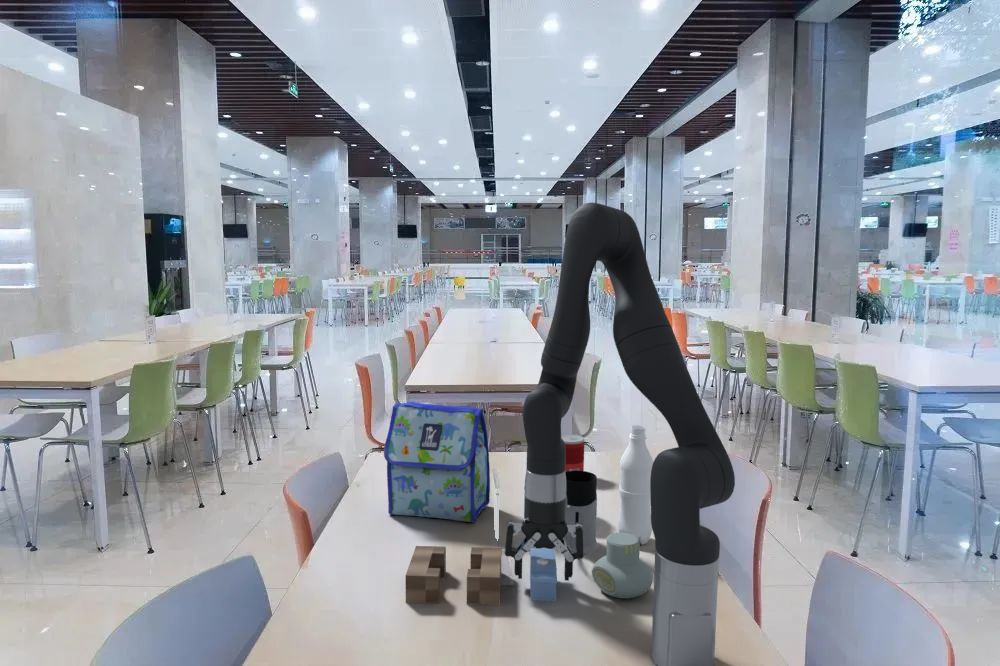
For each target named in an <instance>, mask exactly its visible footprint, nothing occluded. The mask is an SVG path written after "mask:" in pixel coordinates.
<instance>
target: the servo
mask: <svg viewBox="0 0 1000 666" xmlns="http://www.w3.org/2000/svg"><path fill="white" fill-rule="evenodd" d="M529 552H530V553H529V554H530V555H529V564H530V565H529V584H530V585H529V589H530V590H529V591H530V593H529V594H530V600H531V601H557V582H558V574H557V569H558V568H557V561H556V553H555V547H554V548H553V549H548V548H540V549H539V548H536V547H531V549H530V550H529Z"/></svg>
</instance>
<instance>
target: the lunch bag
mask: <svg viewBox="0 0 1000 666" xmlns="http://www.w3.org/2000/svg"><path fill="white" fill-rule="evenodd" d="M487 431H488V430H487V425H486V418H485V415H484V409H483V408H481V407H480V408H479V407H476V406H475V407H474V406H468V405H465V406H464V405H463V406H461V405H460V406H458V405H457V406H455V405H444V404H433V403H432V404H431V403H421V402H415V401H407V402H402V403H399V402H396V403H395V404H394V405H392V411H391V415H390V421H389V427H388V431H387V436H386V439H385V442H384V448H383V457H384V459H385V461H386V477H387V479H386V481H387V483H386V484H387V498H388V500H387V502H388V515H395V516H409V517H411V516H414V517H416V516H417V517H421V518H435V519H444V520H453V521H457V522H458V521H459V522H467V523H468V522H469V523H470V522H471V523H476V521H477V517H478V516H479V514H480V513H481V512H482V511H483V509H484V508H486V507H487V506H489V503H490V501H491V500H490V495H491V494H490V493H491V492H490V491H491V480H490V479H491V478H490V475H491V474H490V473H491V472H490V471H491V470H490V469H491V468H490V457H489V456H490V452H489V441H488V440H489V439H488V432H487Z"/></svg>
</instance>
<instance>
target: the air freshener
mask: <svg viewBox="0 0 1000 666" xmlns="http://www.w3.org/2000/svg"><path fill="white" fill-rule="evenodd" d="M640 545H641V543H640V541H639V539H638V538H637V537H636V536H634V535H632V534H629V533H619V532H614V533H612V534H609V535H608V536H607V538H606V554H605V555H604V556H602V557H600V558H599V559H598V560H597V561H596V562H595V563H594V565H593V566H592V571H591V577H592V579H593V581H594V583H595V584H596V586H597V587H598V589H600V591H602V592H603V593H605V594H606V595H608V596H610V597H612V598H613V597H614V598H616V599H617V598H618V599H632V598H633V599H634V598H637V597H639V596H642V595H644V594H645V593H647V592H648V591H649V590H650V588H652V585H653V583H654V574H653V572H652V569H651V568H650V567H649V565H648V564H647V563H646V562H645V561H644V560H643V559H641V558H640V551H641V550H640V547H641V546H640Z"/></svg>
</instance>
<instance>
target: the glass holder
mask: <svg viewBox="0 0 1000 666" xmlns="http://www.w3.org/2000/svg"><path fill="white" fill-rule="evenodd" d="M565 474H566V517H565V522H566V524H567V525H575V524H576V523H577V522H579V523H581V525H582V530H583V555H584V554H590V553H593V552H595V551H596V550H597V549H598V548H599V543H598V542H597V515H598V513H597V512H598V511H597V510H598V507H597V506H598V495H597V481H598V480H597V477H598V476H597V475H596V474H594V473H593V472H590V471H585V470H584V471H567V472H565ZM563 539H564V540H565V542H566V544H567V545H568V546H569V548H570V549H571V550H574V549H576V538H575V537H572V535H571V533H570V532H567V534H566V535H565V536H564V538H563Z"/></svg>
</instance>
